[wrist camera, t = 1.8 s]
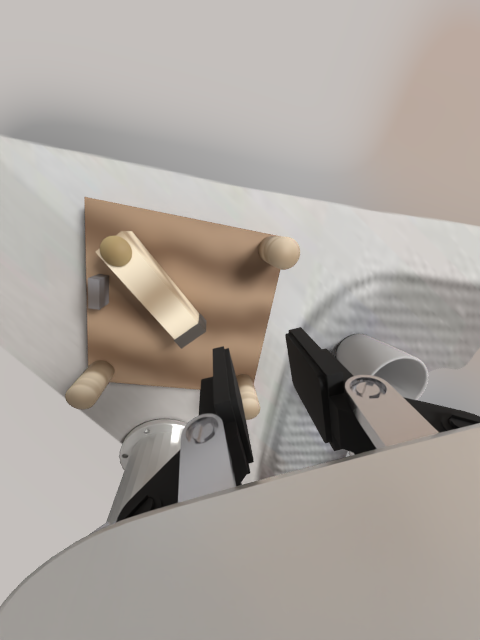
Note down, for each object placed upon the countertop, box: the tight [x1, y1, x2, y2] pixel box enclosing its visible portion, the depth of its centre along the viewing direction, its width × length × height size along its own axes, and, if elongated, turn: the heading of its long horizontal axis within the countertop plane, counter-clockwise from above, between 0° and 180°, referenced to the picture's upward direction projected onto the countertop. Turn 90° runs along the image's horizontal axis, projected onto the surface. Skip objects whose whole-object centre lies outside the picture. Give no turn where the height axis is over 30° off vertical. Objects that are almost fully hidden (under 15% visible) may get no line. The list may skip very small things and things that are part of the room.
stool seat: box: [65, 197, 300, 420], centre depth 26 cm, size 20×20×8 cm
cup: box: [336, 334, 428, 400], centre depth 31 cm, size 8×10×8 cm
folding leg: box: [96, 231, 206, 349], centre depth 24 cm, size 12×3×3 cm, turn 34°
